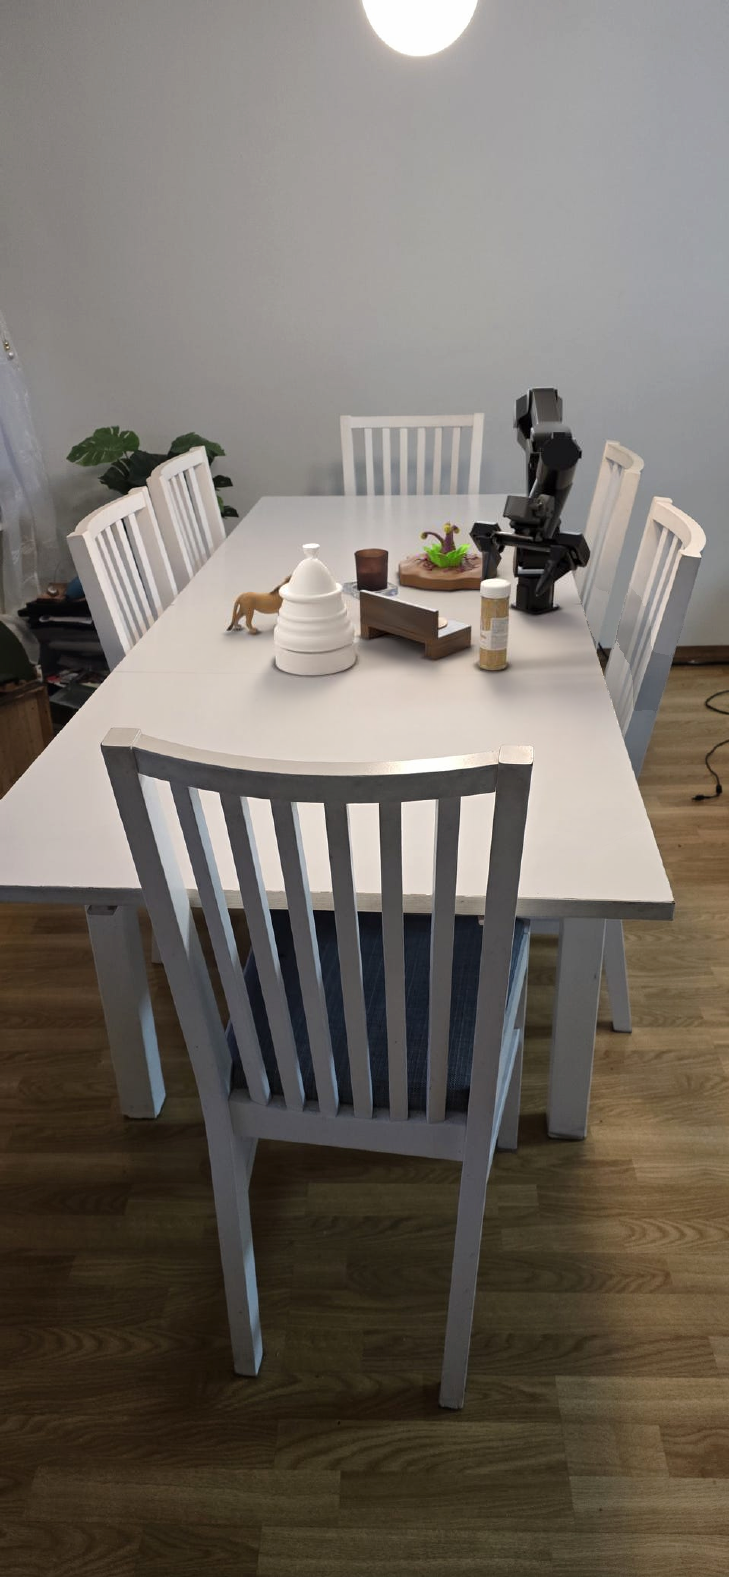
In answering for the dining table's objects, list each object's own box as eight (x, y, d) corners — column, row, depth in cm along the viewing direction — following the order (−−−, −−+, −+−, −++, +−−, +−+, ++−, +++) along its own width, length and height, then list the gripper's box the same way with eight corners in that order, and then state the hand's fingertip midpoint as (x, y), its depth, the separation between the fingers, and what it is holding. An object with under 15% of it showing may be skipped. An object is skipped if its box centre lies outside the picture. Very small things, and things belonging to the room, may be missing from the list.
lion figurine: (303, 618, 178) (300, 569, 174) (312, 627, 174) (309, 577, 170) (223, 629, 174) (218, 579, 170) (230, 638, 170) (225, 587, 165)
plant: (390, 589, 193) (389, 531, 188) (404, 562, 210) (403, 509, 205) (493, 592, 190) (496, 533, 184) (499, 564, 207) (501, 510, 201)
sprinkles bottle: (474, 662, 157) (476, 579, 150) (502, 660, 157) (505, 576, 151) (482, 672, 153) (485, 587, 146) (511, 670, 153) (515, 585, 147)
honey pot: (280, 647, 165) (272, 539, 157) (357, 646, 165) (354, 538, 156) (271, 675, 154) (262, 561, 145) (353, 674, 153) (350, 559, 145)
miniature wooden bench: (397, 624, 174) (396, 579, 171) (471, 645, 163) (472, 598, 160) (360, 636, 169) (359, 590, 165) (434, 660, 158) (434, 611, 154)
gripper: (476, 468, 154) (439, 554, 151) (589, 478, 144) (551, 571, 141) (498, 510, 163) (463, 592, 160) (605, 522, 154) (570, 609, 151)
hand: (509, 590), depth 153 cm, fingers open, 9 cm apart
